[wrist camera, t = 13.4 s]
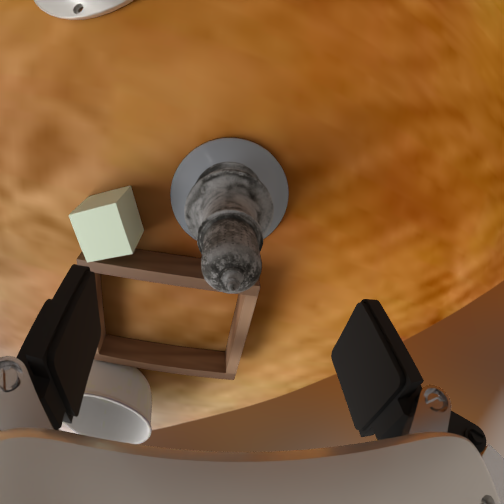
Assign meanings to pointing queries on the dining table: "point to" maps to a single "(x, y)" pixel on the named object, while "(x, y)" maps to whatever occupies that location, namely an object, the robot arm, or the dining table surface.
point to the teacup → (115, 404)
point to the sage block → (107, 224)
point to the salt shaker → (229, 224)
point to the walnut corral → (162, 355)
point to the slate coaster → (230, 152)
